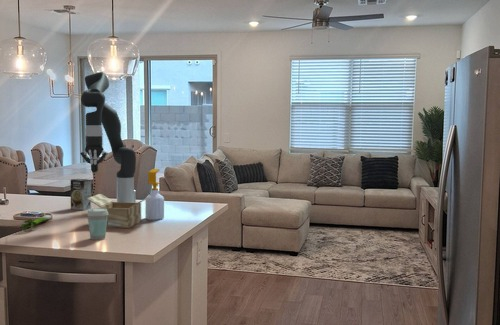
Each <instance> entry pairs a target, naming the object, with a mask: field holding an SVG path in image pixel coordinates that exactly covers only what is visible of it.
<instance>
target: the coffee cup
mask: <svg viewBox="0 0 500 325" xmlns="http://www.w3.org/2000/svg"><path fill="white" fill-rule="evenodd" d="M86 216H87V222H88V229H89V237H90V240H93V241H102V240H104V239H105V240H106V236H107V235H106V234H107V227H106V226H107V217H108V211H107V209H104V208H100V207H97V208H95V207H94V208H91V209H88V210H87V212H86Z"/></svg>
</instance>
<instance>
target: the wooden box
mask: <svg viewBox="0 0 500 325" xmlns="http://www.w3.org/2000/svg"><path fill="white" fill-rule="evenodd" d="M136 203H138V202H136ZM136 203H131V202H117V201H112V202H110V203H108V204H106V205H103V206H101V207H99V208H104V209H107V211H108V217H107V226H106V228H109V229H112V228H114V229H131V228H132V227H134V226H136V225H137V224H140V222H141V221H142V215H141V214H142V211H141V210H142V202H140V203H138V204H137V205H135V206H133V205H134V204H136ZM131 206H133V207H131ZM129 207H131V208H129Z"/></svg>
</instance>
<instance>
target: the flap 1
mask: <svg viewBox="0 0 500 325" xmlns="http://www.w3.org/2000/svg"><path fill="white" fill-rule="evenodd" d="M87 200H89V201H91V204H92V203H93V204H94V205H95V206H97V207H98V208H100V207H102V206H104V205H107V204H109V203H111V202H113V200H112V199H110V198H109V197H107V196H105V195H104V194H102V193H99V194H95V195H93V196H92V195H91V197H89V198H87Z"/></svg>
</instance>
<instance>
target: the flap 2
mask: <svg viewBox="0 0 500 325" xmlns="http://www.w3.org/2000/svg"><path fill="white" fill-rule="evenodd" d="M152 196H153V195H152ZM152 196H150V197H152ZM150 197H148V198H150ZM148 198H146V197H145V198H144V199H142V200H139V202H136V204H134V205H133V206H135V205H137V204H138V203H142V202H145V200H146V199H148ZM133 206H131V207H133ZM131 207H129V208H131Z"/></svg>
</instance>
